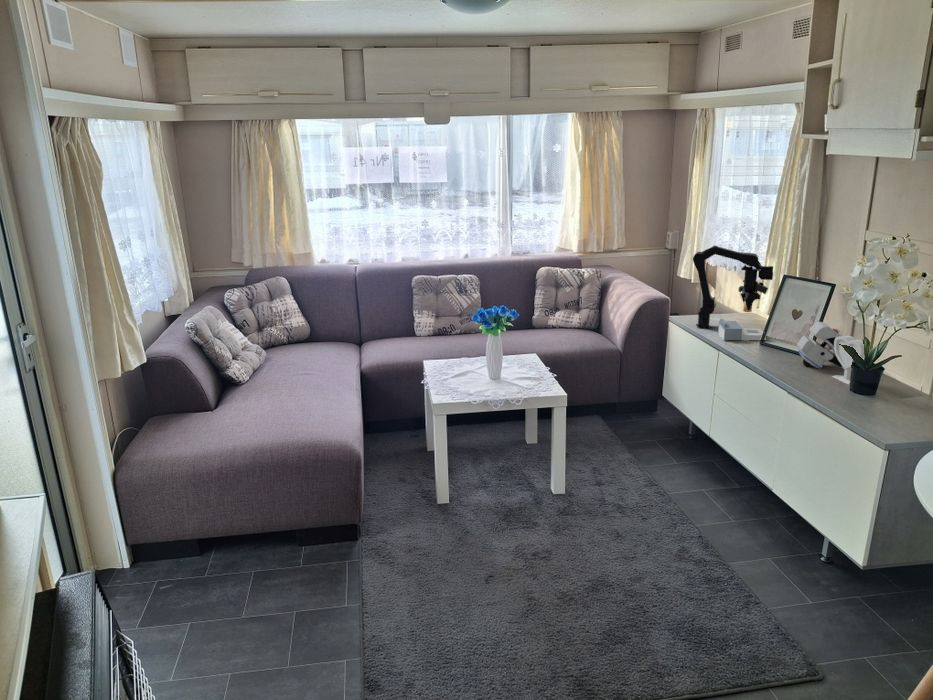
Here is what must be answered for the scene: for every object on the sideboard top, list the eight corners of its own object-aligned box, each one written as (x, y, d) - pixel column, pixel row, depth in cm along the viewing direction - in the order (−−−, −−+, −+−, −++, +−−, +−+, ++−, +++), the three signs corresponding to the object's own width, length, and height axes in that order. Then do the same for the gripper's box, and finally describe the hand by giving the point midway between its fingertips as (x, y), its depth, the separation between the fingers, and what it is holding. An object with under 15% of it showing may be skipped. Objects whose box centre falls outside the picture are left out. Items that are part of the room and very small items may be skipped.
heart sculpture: (828, 374, 299) (833, 333, 293) (838, 373, 300) (844, 332, 294) (854, 387, 284) (860, 344, 279) (865, 386, 285) (871, 343, 280)
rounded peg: (742, 310, 365) (743, 300, 363) (750, 310, 364) (751, 300, 363) (744, 312, 361) (745, 302, 359) (752, 312, 360) (753, 302, 359)
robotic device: (833, 386, 306) (867, 351, 299) (793, 358, 305) (826, 322, 299) (825, 378, 316) (858, 343, 309) (786, 351, 315) (818, 315, 308)
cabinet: (718, 332, 361) (719, 317, 358) (734, 332, 360) (735, 317, 357) (724, 340, 348) (725, 324, 345) (741, 340, 347) (742, 324, 344)
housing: (718, 333, 360) (719, 324, 358) (759, 334, 358) (760, 324, 356) (723, 340, 349) (724, 330, 347) (766, 341, 346) (767, 331, 345)
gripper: (772, 282, 348) (769, 313, 352) (762, 275, 365) (759, 304, 370) (748, 282, 349) (745, 313, 354) (739, 275, 367) (736, 304, 371)
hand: (747, 309), depth 362 cm, fingers closed on rounded peg, 4 cm apart
